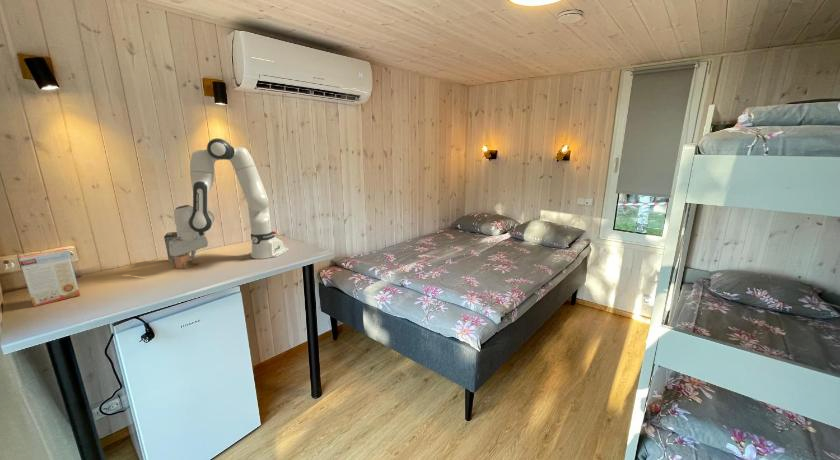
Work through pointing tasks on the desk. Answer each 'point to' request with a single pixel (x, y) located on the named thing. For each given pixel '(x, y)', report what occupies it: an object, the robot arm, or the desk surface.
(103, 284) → the desk surface
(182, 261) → the block
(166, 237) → the coffee box
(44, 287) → the cracker box
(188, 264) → the chute
